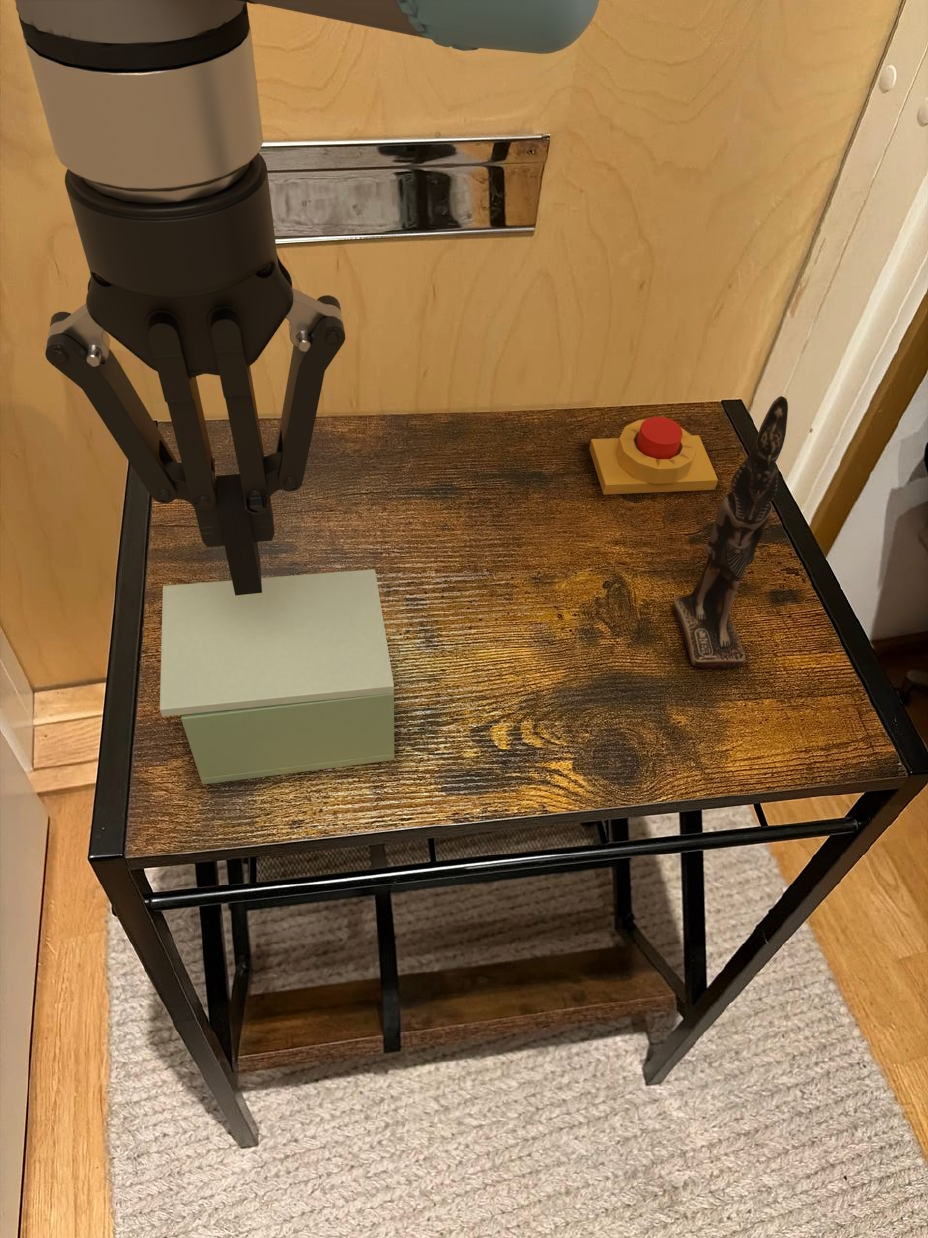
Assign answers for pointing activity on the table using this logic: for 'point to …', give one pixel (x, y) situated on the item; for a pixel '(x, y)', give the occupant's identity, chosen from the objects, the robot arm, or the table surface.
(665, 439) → the button
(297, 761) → the hatch box
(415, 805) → the table surface
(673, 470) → the button block
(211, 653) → the hatch lid
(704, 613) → the statue
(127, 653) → the table surface
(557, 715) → the table surface
